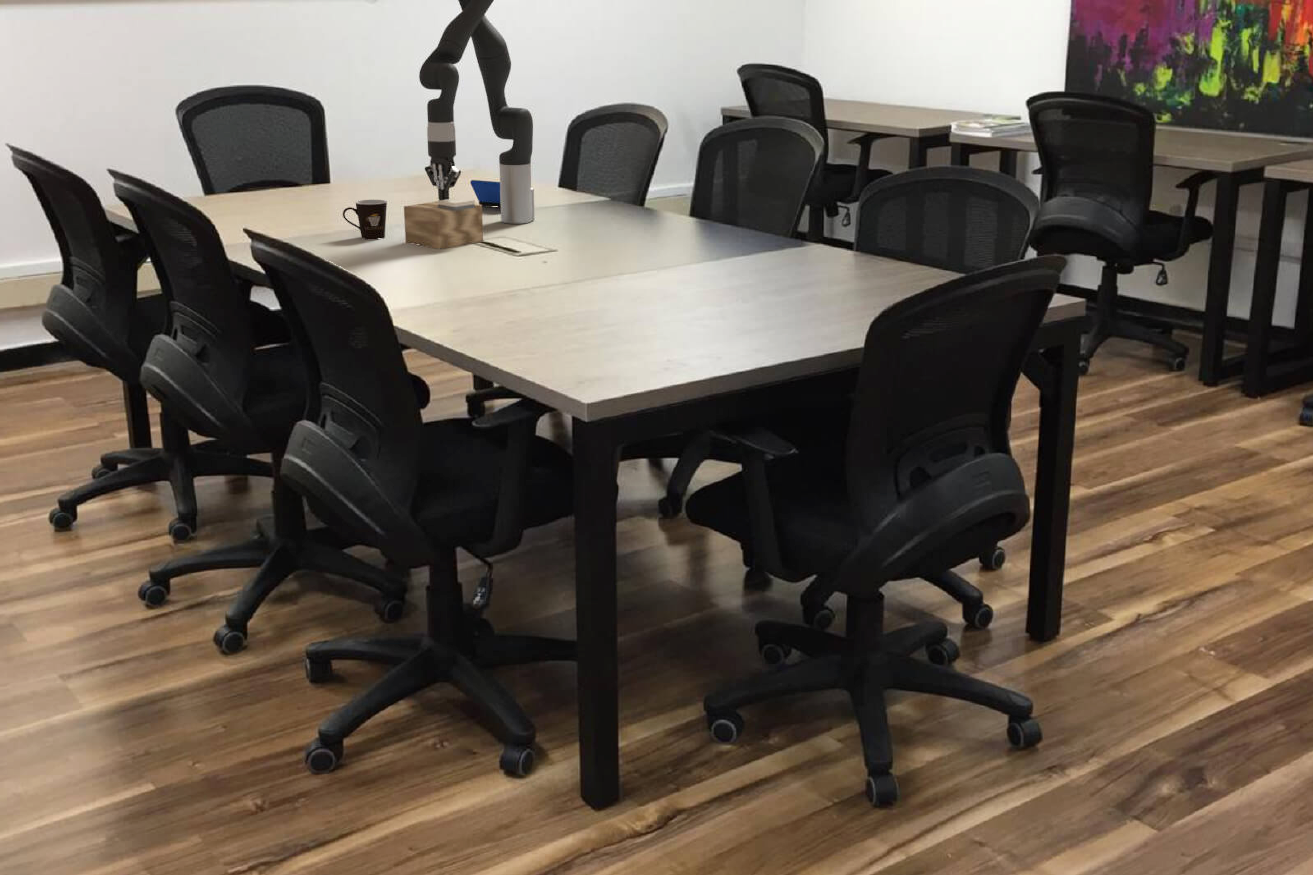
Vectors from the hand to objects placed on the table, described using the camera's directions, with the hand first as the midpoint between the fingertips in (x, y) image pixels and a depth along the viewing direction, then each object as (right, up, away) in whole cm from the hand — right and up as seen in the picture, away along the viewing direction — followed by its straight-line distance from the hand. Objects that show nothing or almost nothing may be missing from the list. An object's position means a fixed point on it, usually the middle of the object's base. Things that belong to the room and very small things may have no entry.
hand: (443, 202), depth 407 cm
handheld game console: (+10, +8, +61) cm, 62 cm away
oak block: (0, -10, +4) cm, 11 cm away
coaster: (+4, -2, -3) cm, 5 cm away
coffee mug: (-23, -8, +10) cm, 26 cm away
